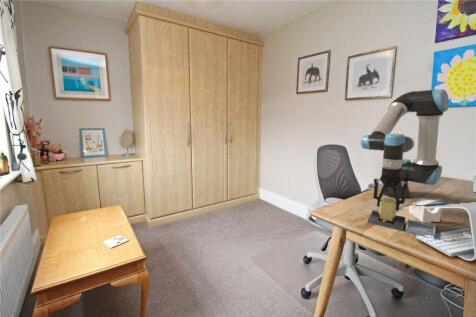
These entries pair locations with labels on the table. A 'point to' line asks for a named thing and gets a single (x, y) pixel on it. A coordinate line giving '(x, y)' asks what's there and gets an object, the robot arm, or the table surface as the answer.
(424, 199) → the table surface
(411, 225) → the tray
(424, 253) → the table surface
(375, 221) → the dark grey shallow tray
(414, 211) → the bracket
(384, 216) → the mustard yellow block
